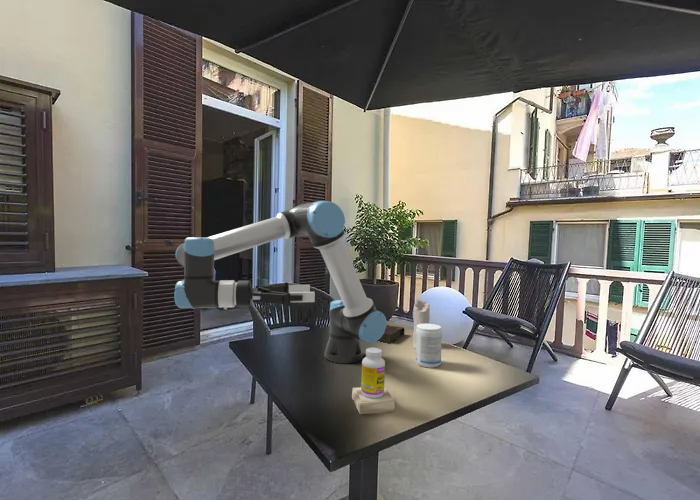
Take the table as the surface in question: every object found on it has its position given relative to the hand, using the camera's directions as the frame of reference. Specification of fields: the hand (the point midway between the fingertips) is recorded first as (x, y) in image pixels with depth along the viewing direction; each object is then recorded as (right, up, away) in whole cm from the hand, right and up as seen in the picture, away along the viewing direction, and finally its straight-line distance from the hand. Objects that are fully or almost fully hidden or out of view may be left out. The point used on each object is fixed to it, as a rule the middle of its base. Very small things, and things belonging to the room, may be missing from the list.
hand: (312, 292), depth 102 cm
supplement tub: (+41, -32, +33) cm, 61 cm away
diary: (+23, -30, +70) cm, 79 cm away
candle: (+43, -31, +54) cm, 75 cm away
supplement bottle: (+18, -29, -1) cm, 34 cm away
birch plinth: (+18, -32, -1) cm, 37 cm away
